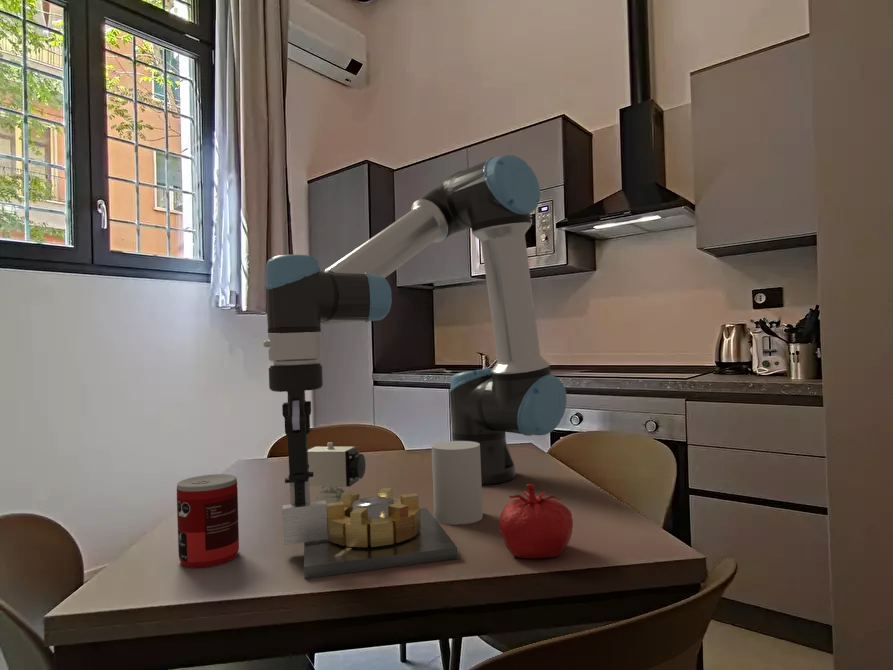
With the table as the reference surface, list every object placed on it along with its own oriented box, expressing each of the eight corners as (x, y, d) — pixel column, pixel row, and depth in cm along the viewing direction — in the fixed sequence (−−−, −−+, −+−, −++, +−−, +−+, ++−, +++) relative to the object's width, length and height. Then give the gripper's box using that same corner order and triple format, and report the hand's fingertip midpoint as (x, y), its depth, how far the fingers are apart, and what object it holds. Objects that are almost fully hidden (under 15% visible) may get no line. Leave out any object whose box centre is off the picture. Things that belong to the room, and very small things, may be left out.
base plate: (426, 516, 96) (425, 480, 96) (457, 558, 76) (455, 513, 76) (304, 530, 91) (303, 492, 91) (304, 578, 71) (302, 530, 71)
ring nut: (408, 513, 92) (406, 482, 92) (429, 539, 79) (428, 503, 79) (283, 528, 86) (282, 495, 86) (284, 559, 73) (283, 520, 73)
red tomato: (575, 568, 72) (573, 495, 72) (496, 564, 74) (495, 493, 74) (571, 539, 82) (570, 475, 82) (502, 537, 84) (500, 474, 84)
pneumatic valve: (358, 513, 99) (356, 444, 99) (296, 512, 101) (294, 444, 101) (369, 504, 104) (366, 439, 104) (309, 503, 106) (307, 439, 107)
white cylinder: (488, 511, 97) (485, 441, 98) (474, 526, 90) (472, 450, 90) (443, 508, 100) (441, 440, 100) (427, 522, 92) (424, 448, 93)
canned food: (190, 550, 83) (188, 475, 83) (245, 546, 84) (243, 472, 84) (169, 571, 76) (166, 488, 76) (230, 566, 76) (228, 484, 77)
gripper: (272, 362, 88) (277, 514, 88) (264, 365, 75) (270, 543, 75) (321, 360, 89) (327, 509, 89) (322, 363, 77) (328, 537, 77)
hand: (301, 525), depth 82 cm, fingers closed
